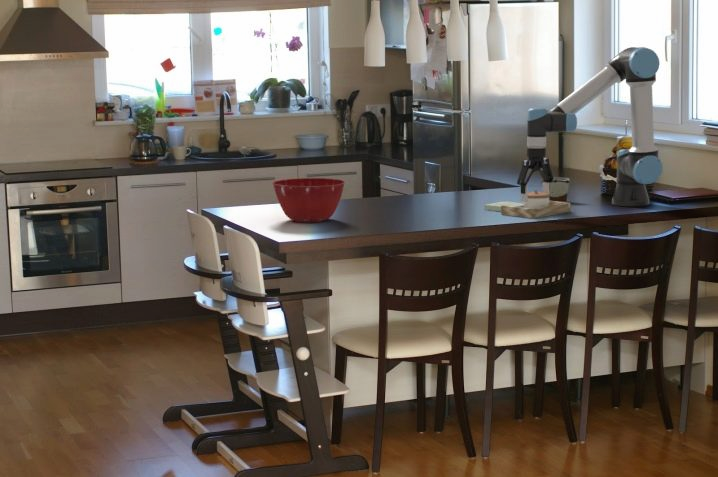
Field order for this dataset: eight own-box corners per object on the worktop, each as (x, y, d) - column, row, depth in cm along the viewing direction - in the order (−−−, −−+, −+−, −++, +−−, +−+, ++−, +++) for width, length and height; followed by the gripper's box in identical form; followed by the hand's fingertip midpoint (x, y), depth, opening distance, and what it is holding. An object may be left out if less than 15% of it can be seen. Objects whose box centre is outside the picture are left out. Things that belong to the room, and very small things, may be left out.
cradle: (570, 211, 466) (570, 202, 466) (533, 218, 451) (533, 209, 450) (537, 207, 478) (537, 199, 478) (501, 214, 463) (501, 205, 462)
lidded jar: (528, 215, 458) (529, 192, 456) (518, 211, 468) (518, 188, 467) (553, 214, 461) (554, 190, 459) (542, 210, 471) (542, 187, 469)
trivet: (529, 209, 475) (529, 204, 475) (508, 212, 466) (508, 207, 466) (504, 206, 484) (504, 201, 484) (484, 209, 476) (484, 204, 475)
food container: (569, 200, 498) (569, 177, 496) (570, 202, 492) (570, 178, 490) (540, 200, 499) (540, 177, 497) (541, 202, 493) (541, 179, 491)
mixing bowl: (306, 212, 475) (306, 175, 473) (360, 218, 458) (360, 179, 455) (258, 222, 454) (257, 182, 451) (313, 228, 436) (312, 187, 433)
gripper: (548, 144, 471) (546, 196, 475) (508, 148, 454) (507, 202, 458) (563, 145, 466) (561, 198, 469) (523, 149, 449) (522, 204, 452)
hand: (534, 200), depth 464 cm, fingers open, 13 cm apart
